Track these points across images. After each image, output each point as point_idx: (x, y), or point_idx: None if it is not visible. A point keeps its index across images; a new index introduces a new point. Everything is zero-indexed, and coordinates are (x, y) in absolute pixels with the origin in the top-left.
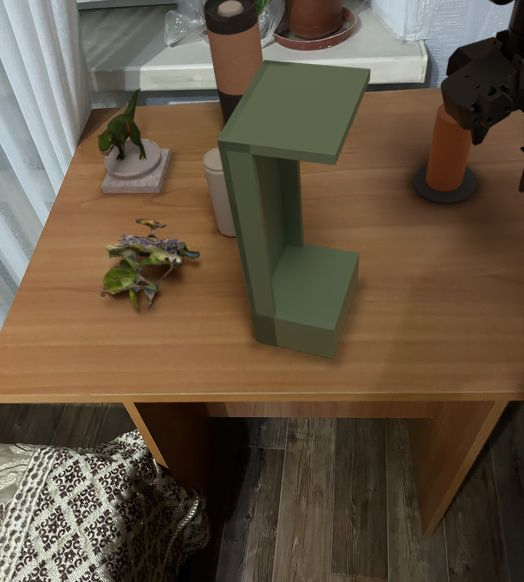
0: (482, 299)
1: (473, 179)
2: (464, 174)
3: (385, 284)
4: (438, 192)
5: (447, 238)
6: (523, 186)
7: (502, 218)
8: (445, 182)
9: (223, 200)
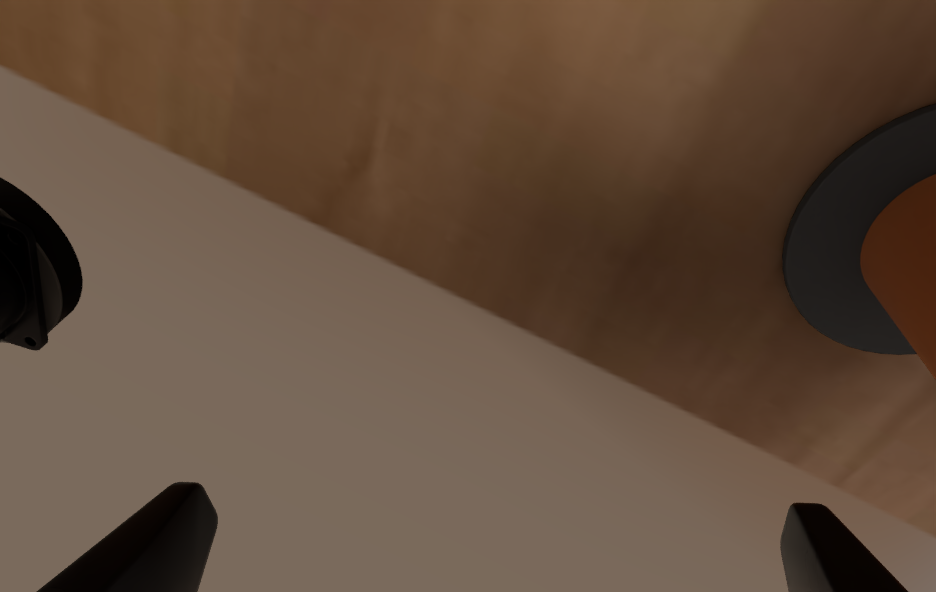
0: (258, 68)
1: (859, 337)
2: None
3: None
4: (897, 184)
5: (617, 91)
6: (105, 537)
7: (616, 321)
8: (910, 232)
9: None
